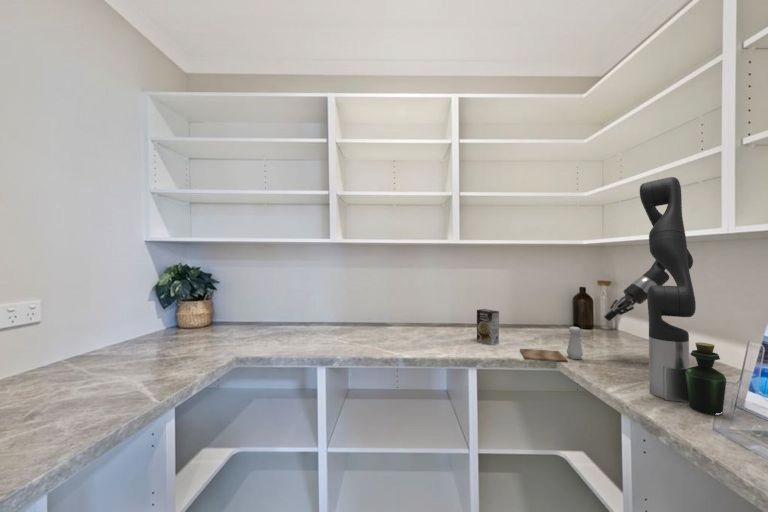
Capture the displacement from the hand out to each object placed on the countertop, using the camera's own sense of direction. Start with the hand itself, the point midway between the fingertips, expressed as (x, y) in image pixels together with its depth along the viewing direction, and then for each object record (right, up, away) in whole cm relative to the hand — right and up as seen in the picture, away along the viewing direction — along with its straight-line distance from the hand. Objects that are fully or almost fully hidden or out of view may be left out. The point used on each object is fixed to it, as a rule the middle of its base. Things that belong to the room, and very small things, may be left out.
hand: (606, 318), depth 134 cm
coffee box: (-40, -18, +29) cm, 52 cm away
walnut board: (-24, -17, +6) cm, 30 cm away
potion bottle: (-3, -17, -45) cm, 48 cm away
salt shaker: (-11, -17, +3) cm, 21 cm away
